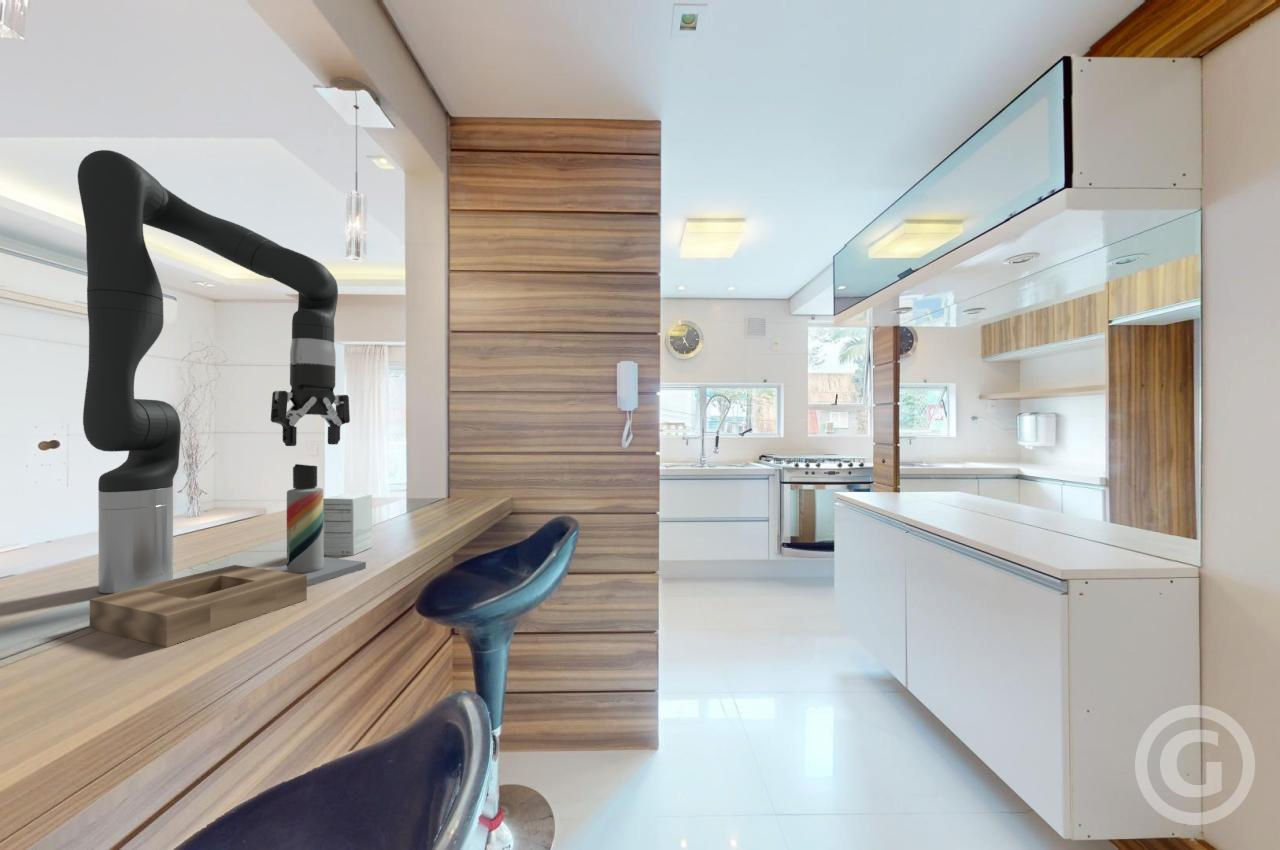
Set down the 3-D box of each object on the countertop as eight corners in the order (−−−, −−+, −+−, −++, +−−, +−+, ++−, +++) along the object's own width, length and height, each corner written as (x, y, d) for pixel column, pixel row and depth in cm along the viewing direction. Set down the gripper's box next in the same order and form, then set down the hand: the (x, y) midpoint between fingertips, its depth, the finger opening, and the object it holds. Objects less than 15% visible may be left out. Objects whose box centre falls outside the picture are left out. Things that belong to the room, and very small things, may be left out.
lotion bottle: (281, 571, 90) (281, 464, 91) (315, 564, 95) (314, 462, 95) (295, 576, 87) (294, 465, 87) (329, 568, 92) (328, 463, 92)
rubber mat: (250, 580, 89) (250, 574, 89) (319, 562, 101) (319, 556, 101) (300, 588, 84) (300, 581, 84) (365, 568, 96) (365, 562, 96)
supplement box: (343, 547, 114) (342, 493, 114) (373, 547, 113) (373, 493, 113) (320, 555, 106) (320, 498, 106) (352, 556, 106) (352, 498, 106)
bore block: (89, 627, 68) (89, 599, 68) (234, 587, 85) (234, 564, 85) (166, 647, 62) (166, 615, 62) (306, 599, 79) (306, 575, 79)
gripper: (333, 368, 105) (333, 443, 105) (262, 360, 91) (261, 446, 91) (359, 367, 102) (358, 444, 102) (289, 358, 89) (288, 446, 89)
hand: (312, 445), depth 97 cm, fingers open, 8 cm apart
